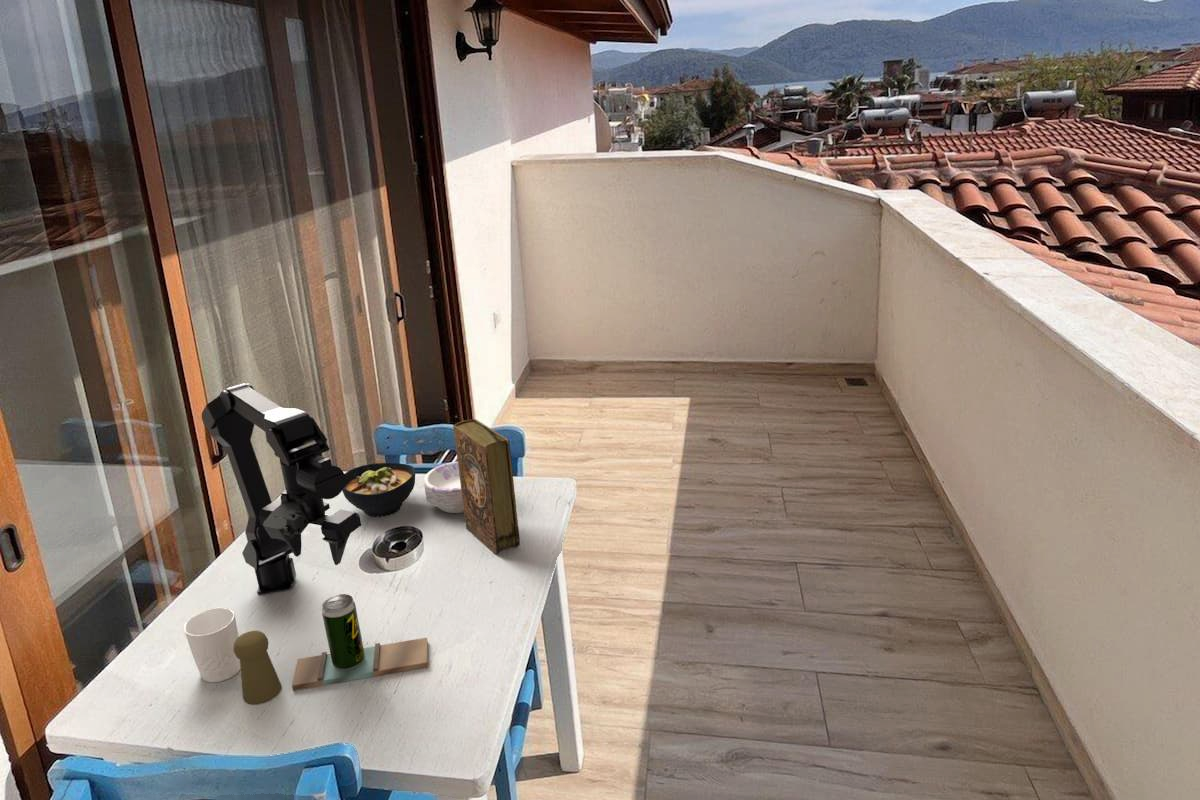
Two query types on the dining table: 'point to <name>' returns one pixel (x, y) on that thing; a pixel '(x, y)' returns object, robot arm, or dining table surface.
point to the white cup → (214, 643)
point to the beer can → (343, 632)
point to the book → (487, 485)
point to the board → (374, 664)
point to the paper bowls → (444, 488)
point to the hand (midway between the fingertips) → (317, 559)
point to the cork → (256, 668)
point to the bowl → (379, 487)
